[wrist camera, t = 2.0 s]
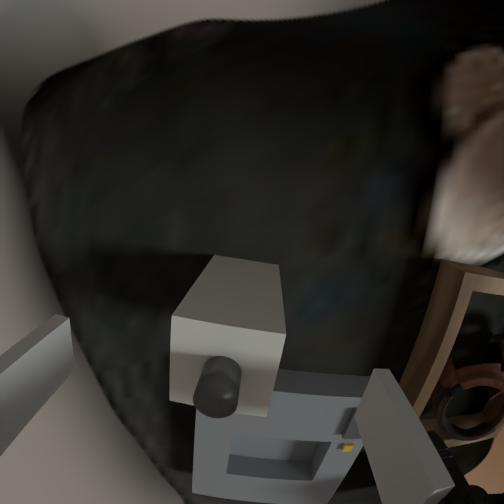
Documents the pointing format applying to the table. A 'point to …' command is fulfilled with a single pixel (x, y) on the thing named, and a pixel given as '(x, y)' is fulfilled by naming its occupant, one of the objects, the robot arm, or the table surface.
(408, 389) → the mug frame
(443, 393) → the pottery mug
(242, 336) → the plug
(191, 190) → the table surface
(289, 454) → the socket plate
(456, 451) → the table surface
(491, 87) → the table surface
